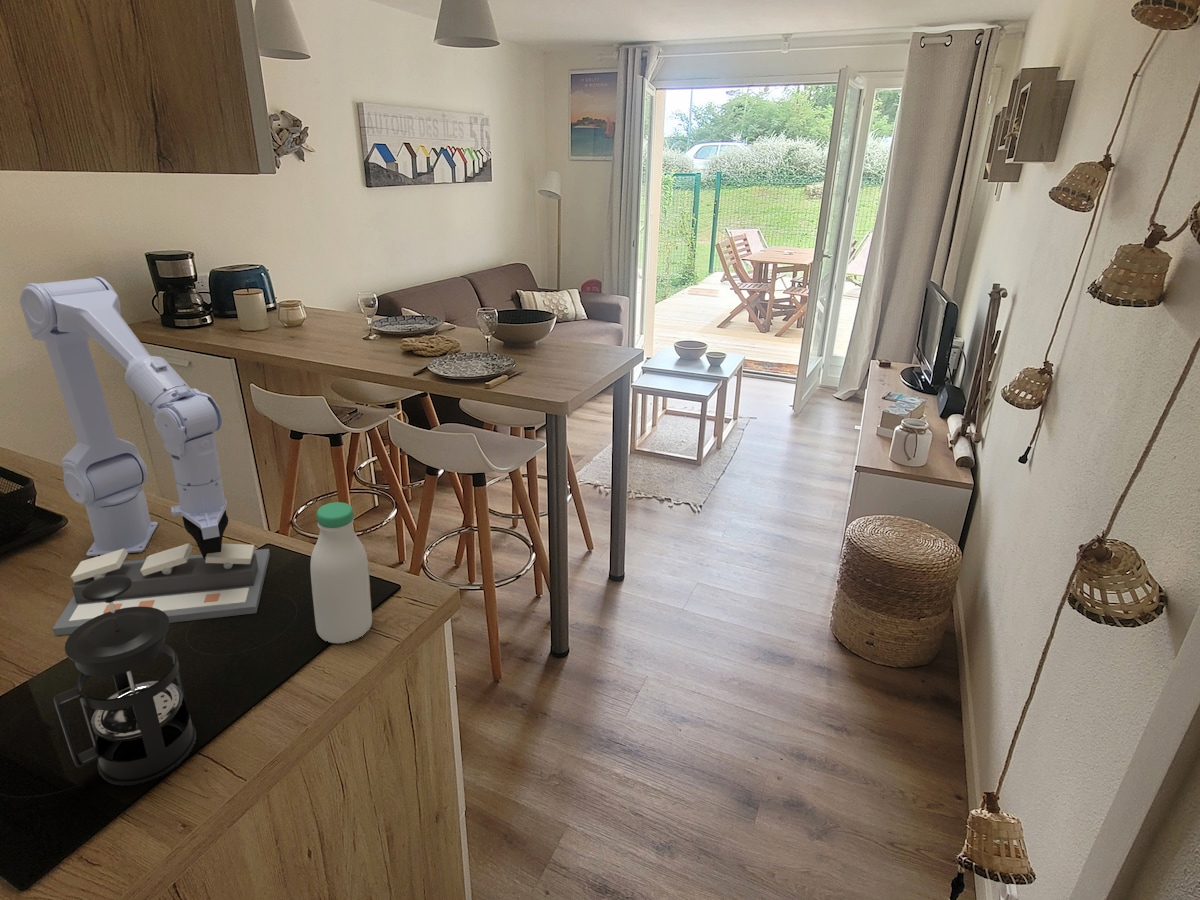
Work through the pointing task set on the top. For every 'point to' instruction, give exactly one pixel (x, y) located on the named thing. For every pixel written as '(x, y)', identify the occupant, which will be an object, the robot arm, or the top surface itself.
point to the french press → (127, 688)
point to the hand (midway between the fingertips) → (211, 556)
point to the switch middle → (166, 560)
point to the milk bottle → (340, 577)
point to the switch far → (232, 555)
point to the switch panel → (177, 591)
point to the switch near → (99, 565)
